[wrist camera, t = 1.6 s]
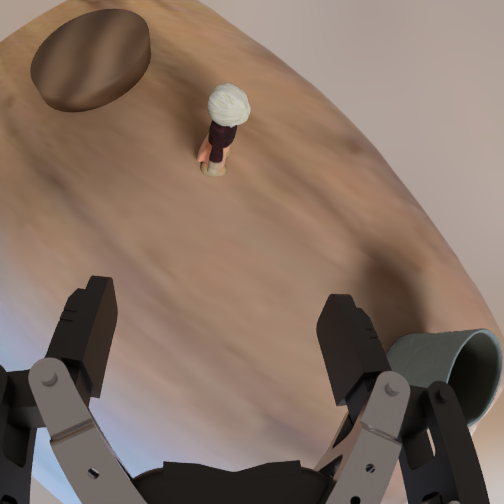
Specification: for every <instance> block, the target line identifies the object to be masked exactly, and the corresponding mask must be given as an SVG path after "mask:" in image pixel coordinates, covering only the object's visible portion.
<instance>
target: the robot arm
mask: <svg viewBox="0 0 504 504" xmlns="http://www.w3.org/2000/svg"><path fill="white" fill-rule="evenodd" d="M117 315H118V309H117V302H116V297H115V291H114V284H113V279H112V278H111V277H102V276H91V277H90V279H89V282H88V284H87V286H86V289H80V288H78V289H77V290H76V291H75V292H74V293H73V294H72V295H71V296H70V297H69V298H68V300H67V302H66V305H65V307H64V311H63V312H62V314H61V317H60V321H59V322H58V324H57V327H56V329H55V332H54V334H53V337H52V340H51V343H50V345H49V348H48V351H47V354H46V356H45V358H43V359H41V360H39V361H37V362H36V363H35V364H34V365H33V366H32V367H31V369H29V370H23V371H12V372H6V371H5V369H4V368H3V367H2V366H1V365H0V504H29V502H30V484H31V472H32V462H33V454H34V446H35V439H36V432H37V428H41V427H46V428H47V430H48V432H49V434H50V437H51V440H50V445H51V448H52V450H53V452H54V454H55V456H56V458H57V460H58V462H59V464H60V466H61V468H62V470H63V472H64V474H65V475H66V477H67V479H68V481H69V483H70V484H71V486H72V488H73V489H74V491H75V493H76V494H77V496H78V498H79V499H80V501H81V503H82V504H380V503H381V501H382V498H383V496H384V494H385V491H386V489H387V486H388V484H389V481H390V479H391V476H392V473H393V471H394V468H395V465H396V462H397V460H398V458H399V462H400V467H401V471H402V475H403V480H404V485H405V489H406V494H407V499H408V504H490V502H489V498H488V494H487V490H486V485H485V482H484V478H483V474H482V471H481V467H480V464H479V460H478V457H477V454H476V450H475V447H474V444H473V441H472V438H471V435H470V432H469V429H468V426H467V424H466V421H465V418H464V415H463V412H462V410H461V407H460V404H459V402H458V399H457V397H456V394H455V392H454V390H453V389H452V387H451V386H450V385H449V384H447V383H446V382H443V381H434V382H433V383H431V384H430V385H429V386H428V387H427V388H424V387H418V386H413V385H409V384H408V382H407V380H406V379H405V378H404V377H403V376H402V375H400V374H399V373H396V372H393V371H392V369H391V367H390V364H389V362H388V359H387V357H386V355H385V352H384V350H383V347H382V345H381V343H380V340H379V339H378V336H377V333H376V331H374V327H373V324H372V322H371V320H370V318H369V316H368V315H367V314H366V313H365V312H364V311H363V310H362V309H361V308H357V307H356V305H355V303H354V301H353V298H352V296H351V295H349V294H330V295H329V297H328V299H327V301H326V304H325V306H324V308H323V310H322V312H321V315H320V317H319V319H318V322H317V328H316V331H317V337H318V341H319V344H320V348H321V351H322V355H323V358H324V362H325V365H326V369H327V373H328V376H329V380H330V384H331V387H332V391H333V395H334V399H335V402H336V406H342V405H347V407H348V411H347V413H346V414H345V416H344V418H343V420H342V423H341V425H340V427H339V429H338V431H337V433H336V435H335V437H334V439H333V440H332V442H331V444H330V446H329V448H328V450H327V452H326V453H325V454H324V456H323V457H322V458H321V459H320V461H319V462H318V463H317V465H316V466H315V468H314V470H312V469H309V468H305V467H301V465H300V460H296V461H286V462H273V463H266V464H262V465H259V466H256V467H252V468H249V469H245V470H241V471H237V472H230V471H225V470H221V469H217V468H213V467H209V466H205V465H201V464H195V463H177V462H165V461H163V468H156V469H153V470H149V471H146V472H144V473H142V474H140V475H138V476H136V477H135V478H132V476H131V475H130V473H129V472H128V471H127V469H126V468H125V466H124V465H123V463H122V462H121V460H120V459H119V457H118V456H117V455H116V453H115V452H114V450H113V449H112V447H111V445H110V444H109V442H108V441H107V439H106V437H105V436H104V434H103V432H102V431H101V429H100V427H99V425H98V424H97V422H96V420H95V418H94V417H93V415H92V413H91V411H90V409H89V408H88V407H89V402H90V397H95V398H100V394H101V389H102V384H103V379H104V374H105V369H106V365H107V360H108V356H109V351H110V347H111V343H112V339H113V335H114V331H115V327H116V323H117ZM427 429H429V430H430V433H431V436H432V439H433V443H434V446H435V456H434V455H433V451H432V447H431V444H430V440H429V437H428V434H427Z"/></svg>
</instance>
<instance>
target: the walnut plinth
mask: <svg viewBox="0 0 504 504" xmlns="http://www.w3.org/2000/svg"><path fill="white" fill-rule="evenodd" d="M150 58H151V49H150V38H149V29H148V26H147V23H146V22H145V20H144V19H143V18H142V17H141V16H139V15H137V14H136V13H133V12H131V11H127V10H122V9H105V10H98V11H94V12H90V13H87V14H84V15H81V16H79V17H77V18H75V19H72V20H71V21H69V22H67V23H65V24H64V25H62V26H61V27H59V28H58V29H57V30H55V31H54V32H53V33H52V34H51V35H50V36H49V37H48V38H47V39H46V40H45V41H44V42H43V43H42V44H41V46H40V47H39V49H38V50H37V52H36V54H35V56H34V58H33V61H32V64H31V78H32V81H33V83H34V84H35V86H36V88H37V89H38V91H39V93H40V94H41V96H42V97H43V99H44V100H45V102H46V103H47V104H48V105H49V106H51V107H52V108H54V109H56V110H59V111H64V112H82V111H87V110H92V109H95V108H98V107H101V106H103V105H106V104H108V103H110V102H112V101H114V100H115V99H117V98H119V97H120V96H122V95H123V94H125V93H126V92H127V91H129V90H130V89H131V88H132V87H133V86H134V85H135V84H136V83H137V82H138V81H139V80H140V79H141V77H142V76H143V75H144V73H145V72H146V70H147V68H148V65H149V63H150Z"/></svg>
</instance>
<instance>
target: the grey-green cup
mask: <svg viewBox="0 0 504 504" xmlns="http://www.w3.org/2000/svg"><path fill="white" fill-rule="evenodd" d="M386 357H387V359H388V362H389V364H390V367H391V369H392V371H393V372H396V373H399V374H400V375H402V376H403V377H404V378H405V379H406V380H407V382H408V384H409V385H413V386H418V387H424V388H427V387H428V386H429V385H430V384H431V383H433V382H434V381H443V382H446V383H447V384H449V385H450V386H451V387H452V389H453V390H454V392H455V394H456V397H457V399H458V402H459V404H460V407H461V410H462V412H463V415H464V418H465V421H466V424H467V426H468V427H470V426H472V425H473V424H474V423H476V422H477V421H478V420H479V419H480V418H481V417H482V416H483V415H484V414H485V413H486V411H487V410H488V408H489V407H490V405H491V403H492V402H493V400H494V397H495V395H496V392H497V389H498V386H499V383H500V379H501V375H502V359H503V358H502V350H501V346H500V343H499V341H498V339H497V337H496V336H495V335H494V333H492V332H491V331H489V330H487V329H474V330H464V331H454V332H444V333H437V334H435V333H421V334H420V333H413V334H408V335H405V336H403V337H401V338H399V339H398V340H397V341H396V342H395V343H394V344H393V345H392V346H391V348H390V349H389V351H388V352H387V354H386Z"/></svg>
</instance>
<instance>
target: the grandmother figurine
mask: <svg viewBox="0 0 504 504" xmlns="http://www.w3.org/2000/svg"><path fill="white" fill-rule="evenodd" d="M250 110H251V108H250V105H249V102H248V99H247V96H246V94H245V93H244V92H243V91H242V90H241V89H239V88H238V87H236V86H234V85H232V84H229V83H224V84H221V85H218V86H217V87H216V88H215V89H214V91H213V93H212V94H211V95H210V97H209V100H208V112H209V115H210V117H211V119H212V123H211V126H210V130H209V133H208V135H207V136H206V138H205V140H204V141H203V143H202V145H201V147H200V149H199V152H198V156H197V161H198V162H202V161H203V162H202V165H201V171H202V173H203V174H205V175H207V176H223V175H224V174H225V173H226V169H227V167H226V165H225V159H226V158H227V157H228V156H229V155H230V153H231V149H230V146H231V143H232V142H233V140H234V138H235V134H236V130H237V125H240V124H242V123H244V122H245V121H246V120H247V119H248V116H249V114H250Z"/></svg>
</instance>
